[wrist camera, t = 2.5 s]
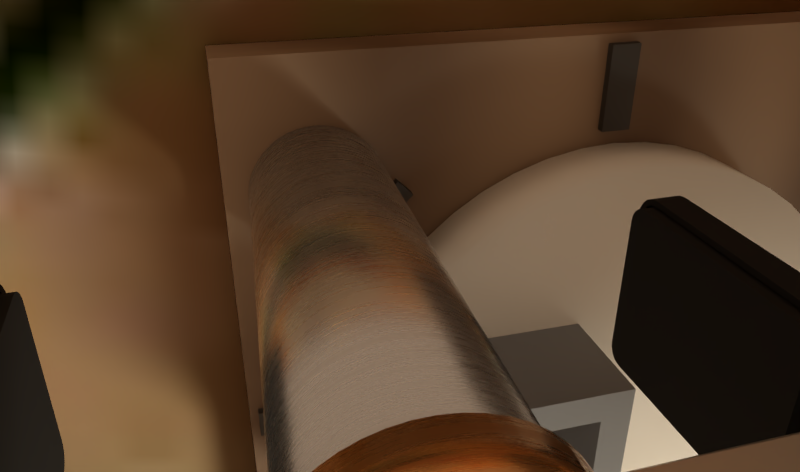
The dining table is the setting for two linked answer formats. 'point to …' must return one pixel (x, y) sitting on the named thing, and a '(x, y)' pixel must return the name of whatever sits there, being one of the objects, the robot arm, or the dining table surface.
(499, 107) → the panel
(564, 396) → the dial
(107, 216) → the dining table surface
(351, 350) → the peg
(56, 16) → the dining table surface
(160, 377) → the dining table surface
